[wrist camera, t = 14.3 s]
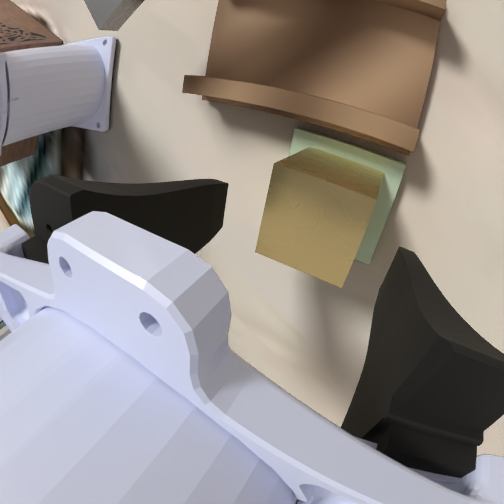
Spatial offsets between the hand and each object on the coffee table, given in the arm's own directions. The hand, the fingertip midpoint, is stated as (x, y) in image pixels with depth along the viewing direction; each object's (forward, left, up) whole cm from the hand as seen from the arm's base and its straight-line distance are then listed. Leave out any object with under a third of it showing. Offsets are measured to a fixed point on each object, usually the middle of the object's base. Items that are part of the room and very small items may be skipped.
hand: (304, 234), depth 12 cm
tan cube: (0, 0, -5) cm, 5 cm away
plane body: (-3, +11, -6) cm, 13 cm away
